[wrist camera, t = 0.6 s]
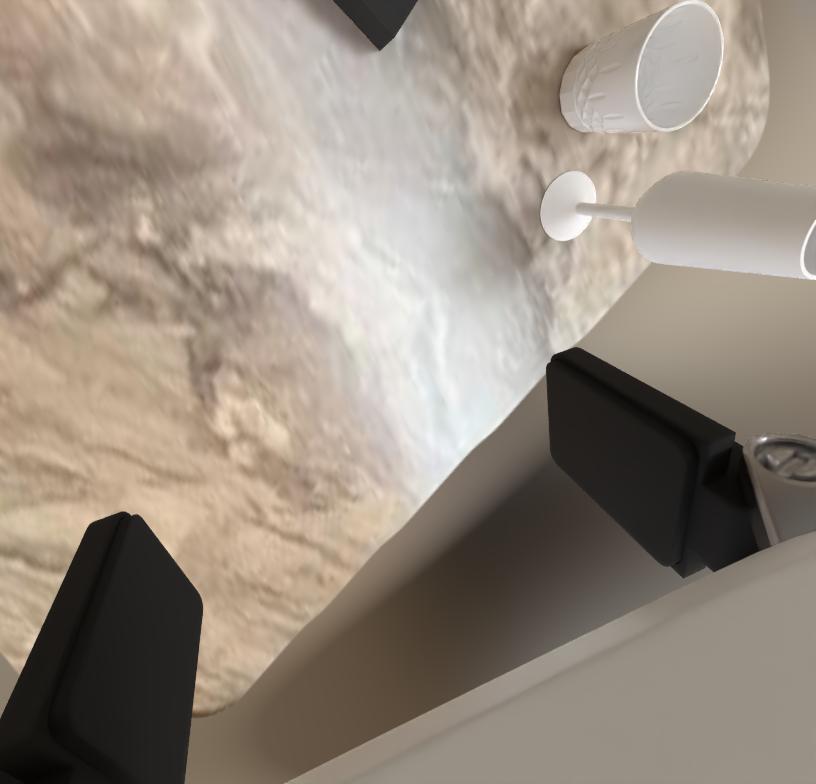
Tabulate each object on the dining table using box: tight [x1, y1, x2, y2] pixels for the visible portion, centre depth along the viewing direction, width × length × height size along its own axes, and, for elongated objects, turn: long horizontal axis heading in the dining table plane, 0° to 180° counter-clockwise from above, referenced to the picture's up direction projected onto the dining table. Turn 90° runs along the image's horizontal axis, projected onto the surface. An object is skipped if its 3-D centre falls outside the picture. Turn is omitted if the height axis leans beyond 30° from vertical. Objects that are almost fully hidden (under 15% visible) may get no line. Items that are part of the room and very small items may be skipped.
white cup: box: [559, 0, 724, 133], centre depth 36 cm, size 8×8×10 cm
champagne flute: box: [540, 171, 816, 280], centre depth 34 cm, size 7×7×24 cm
